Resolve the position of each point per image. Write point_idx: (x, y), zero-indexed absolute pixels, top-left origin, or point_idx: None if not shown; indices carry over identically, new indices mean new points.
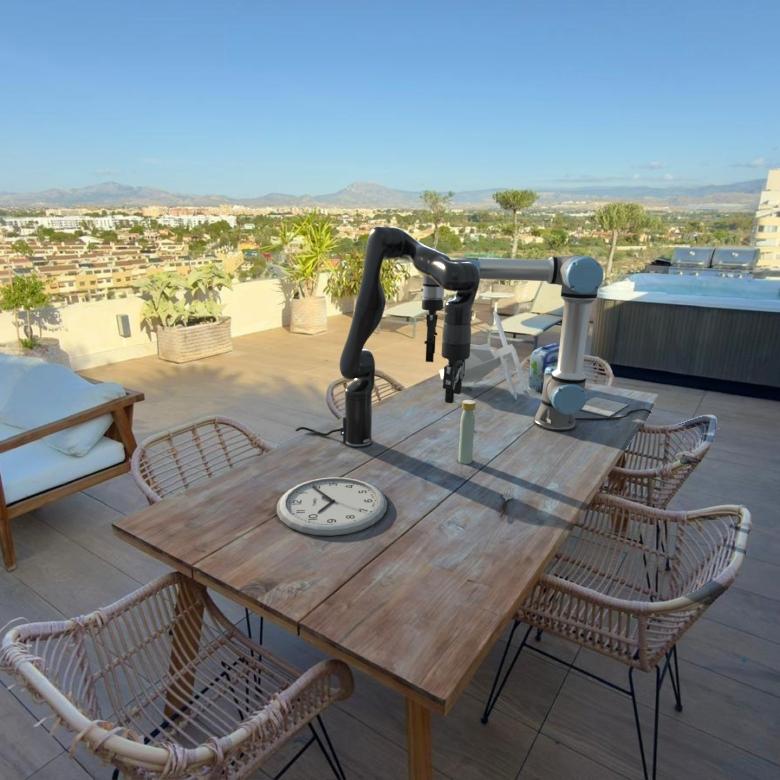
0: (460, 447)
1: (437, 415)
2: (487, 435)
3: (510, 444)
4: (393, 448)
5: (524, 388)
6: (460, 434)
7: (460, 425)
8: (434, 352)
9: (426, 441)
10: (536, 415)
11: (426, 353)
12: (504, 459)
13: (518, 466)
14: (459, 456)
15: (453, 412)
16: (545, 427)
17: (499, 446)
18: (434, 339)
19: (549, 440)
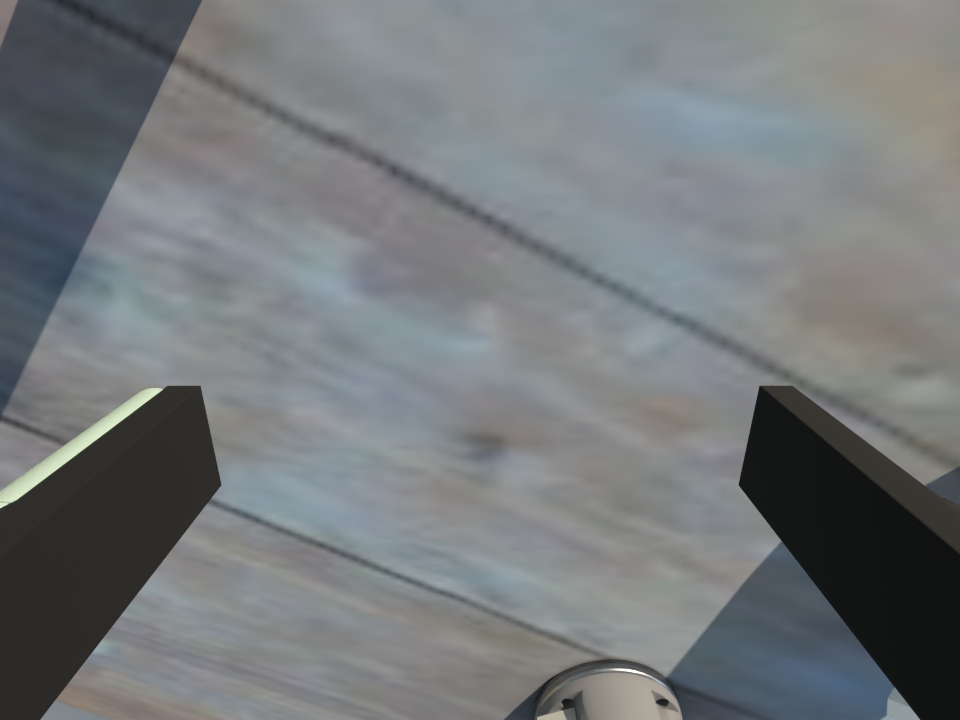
0: (95, 423)
1: (691, 288)
2: (450, 499)
3: (375, 567)
4: (178, 79)
5: (900, 714)
6: (55, 452)
7: (30, 475)
8: (746, 488)
9: (318, 247)
10: (617, 690)
11: (76, 466)
12: (228, 539)
13: (186, 573)
14: (126, 401)
15: (739, 367)
16: (549, 686)
17: (345, 532)
18: (895, 666)
19: (443, 677)
